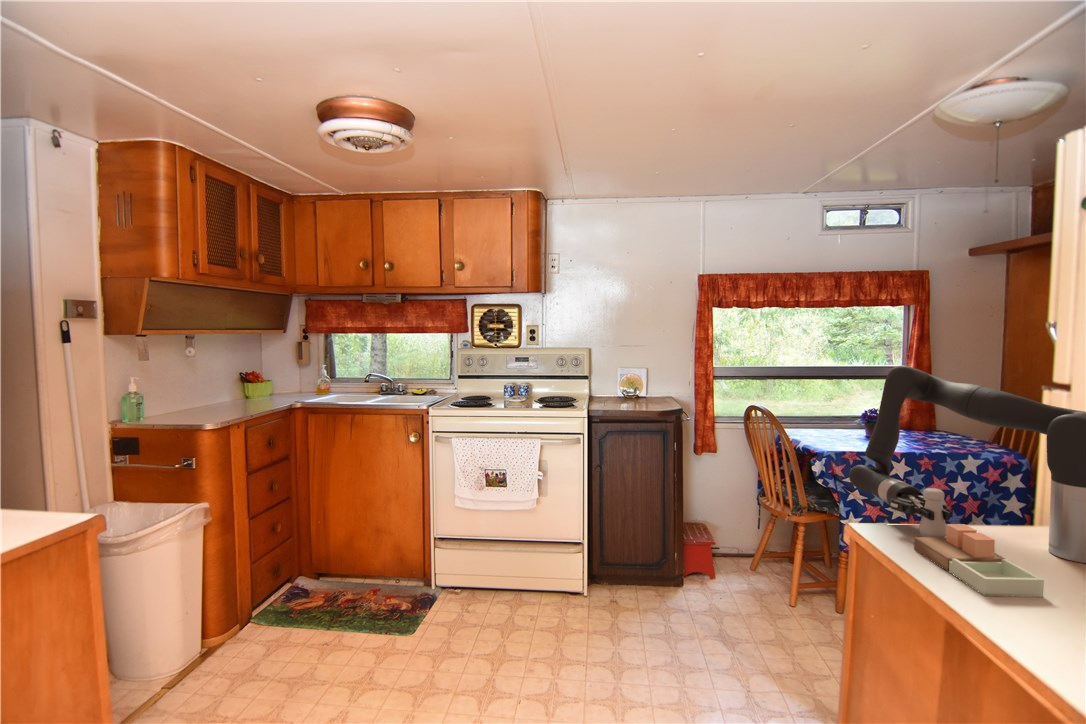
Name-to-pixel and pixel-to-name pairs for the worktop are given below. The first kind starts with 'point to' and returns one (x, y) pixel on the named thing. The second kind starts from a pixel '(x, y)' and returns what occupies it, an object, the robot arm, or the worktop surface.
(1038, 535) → the worktop surface
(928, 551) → the board
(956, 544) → the light orange cube
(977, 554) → the peach cube
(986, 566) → the tray
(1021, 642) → the worktop surface
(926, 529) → the salt shaker
